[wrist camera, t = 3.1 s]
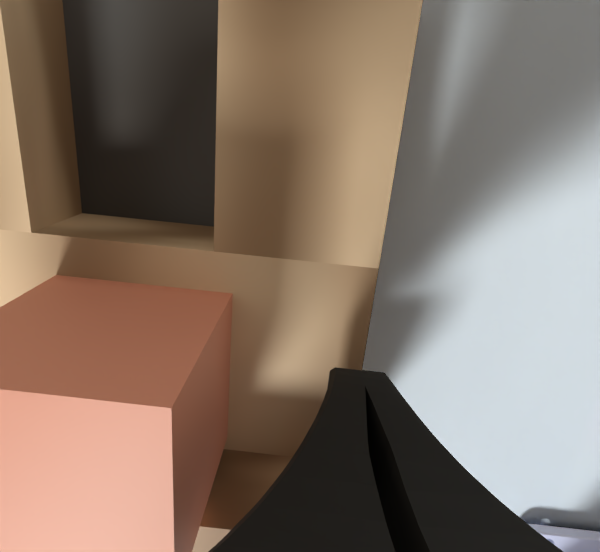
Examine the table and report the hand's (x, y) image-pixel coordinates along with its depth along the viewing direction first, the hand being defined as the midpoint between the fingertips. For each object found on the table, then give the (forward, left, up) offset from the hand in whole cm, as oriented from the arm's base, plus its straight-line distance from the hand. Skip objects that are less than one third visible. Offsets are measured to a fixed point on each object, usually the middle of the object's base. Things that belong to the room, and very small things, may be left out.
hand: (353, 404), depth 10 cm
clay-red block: (+5, 0, -1) cm, 6 cm away
